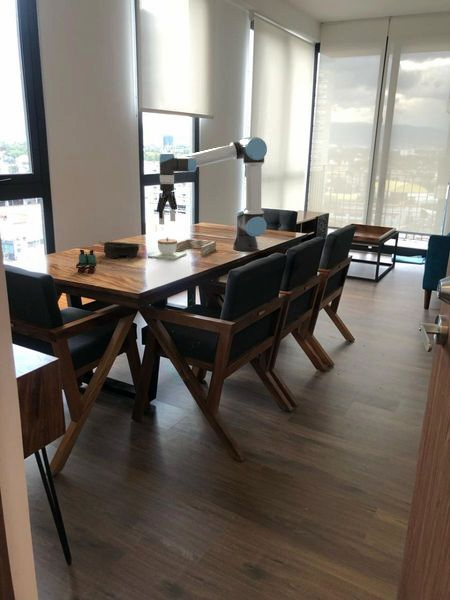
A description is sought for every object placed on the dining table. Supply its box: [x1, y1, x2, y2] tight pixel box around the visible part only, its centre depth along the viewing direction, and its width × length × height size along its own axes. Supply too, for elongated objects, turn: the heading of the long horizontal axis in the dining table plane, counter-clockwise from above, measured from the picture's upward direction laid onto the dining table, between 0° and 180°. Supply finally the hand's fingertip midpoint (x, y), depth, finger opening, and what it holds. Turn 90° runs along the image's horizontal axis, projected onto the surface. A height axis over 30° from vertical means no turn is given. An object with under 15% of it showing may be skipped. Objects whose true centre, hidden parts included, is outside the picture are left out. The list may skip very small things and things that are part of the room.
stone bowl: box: [98, 241, 145, 259], centre depth 273 cm, size 25×25×9 cm
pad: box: [147, 250, 187, 261], centre depth 276 cm, size 16×16×1 cm
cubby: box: [175, 238, 217, 257], centre depth 291 cm, size 19×20×5 cm
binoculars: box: [75, 249, 98, 274], centre depth 235 cm, size 9×11×10 cm
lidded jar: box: [157, 237, 178, 255], centre depth 274 cm, size 11×11×9 cm
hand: (167, 222), depth 271 cm, fingers open, 13 cm apart
